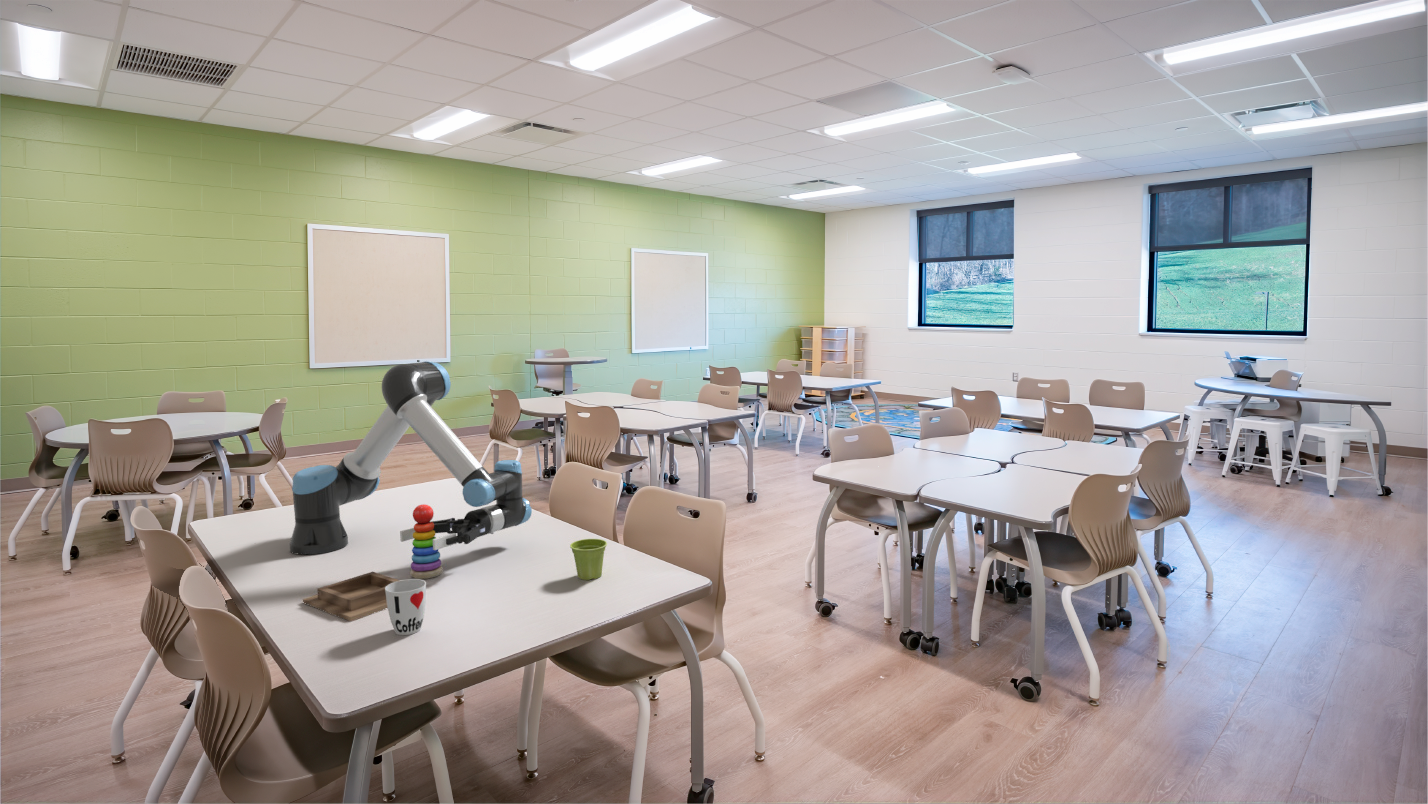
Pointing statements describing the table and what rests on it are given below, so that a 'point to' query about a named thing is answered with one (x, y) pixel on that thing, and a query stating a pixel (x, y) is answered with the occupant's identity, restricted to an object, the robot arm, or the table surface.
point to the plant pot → (589, 557)
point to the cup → (406, 605)
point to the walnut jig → (353, 596)
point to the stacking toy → (424, 545)
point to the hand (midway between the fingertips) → (417, 540)
